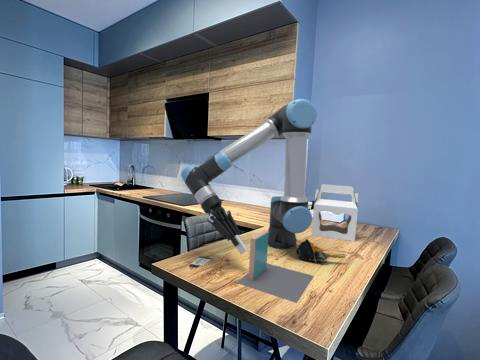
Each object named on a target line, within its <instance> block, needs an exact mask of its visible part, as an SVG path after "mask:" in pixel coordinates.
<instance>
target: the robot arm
mask: <svg viewBox="0 0 480 360" xmlns="http://www.w3.org/2000/svg"><path fill="white" fill-rule="evenodd" d="M317 116H318V115H317V109H316V106H315V105H314V104H313V103H312V102H311V101H310V100H309V99H306V98H298V99H297V98H296V99H294V100H291V101H290V102H289V103H287V104H285V105H283V106H281V108H279V109H277V111H275V112H274V113H273V114H272V115H270V116H269V117H268V118H266V119H265V122H264V123H262V124H261V125H259V126H258V127H256V128H254V129H253V130H250V131H249V132H248V133H246V134H245V135H243V136H241V137H239V138H238V139H236V140H235V141H234V142H231V144H228V145H227V146H226V147H224V148H222V149H221V150H219V151H217V152H216V153H214V154H212V155H210V156H209V157H207V158H206V159H205V161H204V162H203V163H202V164H201V165H198V166H197V165H196V164H190V165H187V166H185V168H183V169H182V171H181V172H180V176H181V179H182V180H183V182H184V184H185V186H186V187H187V189H189V191H190V192H191V194H192V195H193V197H194V198H195V200H196V201H197V203H198V204H199V205H200V208H201V209H202V210H203V212H204V214H206V215H208V218H207V219H206V220H207V222H208V223H209V224H210V225H212V226H213V228H215V229H214V230H216V231H217V232H218V233H219V235H221V236H222V238H223V239H224V240H227V241H228V242H229V241H231V243H232V244H233V246H234V247H235V248H236V249H237V251H238V253H239V254H240V256H241V255H244V254H245V253H246V252H247V251H248V250H249V249H248V247H247V246H246V245H245V243H244V241H243V240H242V239H241V237H240V235H239V234H240V229H239V227H238V225H237V223H236V221H235V219H234V218H233V215H232V212H231V210H225V208H224V207H223V206H222V203H223V201H222V200H221V198H220V197H219V196H218V194H217V193H216V192H215V191H216V190H214V189H213V187H212V186H211V184H210V182H212V181H213V180H214V179H216V178H217V177H219V176H220V175H222V174H223V173H225V172H227V171H228V169H230V168H231V167H232V165H233V163H234V162H236V161H238V160H239V159H240V158H242V157H244V156H246V155H247V154H249V153H250V152H252V151H253V150H255V149H256V148H258V147H260V146H261V145H264V144H266V142H268V141H269V140H271V139H273V138H278V137H280V136H284V138H285V150H284V151H285V152H284V153H285V154H284V155H285V158H284V183H283V184H284V186H283V187H284V188H283V192H284V193H283V196H281V195H279V196H277V195H276V196H272V197H271V200H270V208H269V209H270V212H269V227H268V230H267V231H269V235H268V247H271V248H275V249H280V250H282V249H286V250H287V249H294V248H296V247H297V242H298V240H297V235H296V234H300V233H303V232H305V231H306V230H308V229H309V228H310V226H311V225H312V223H313V216H312V215H313V214H312V212H311V211H310V209H309V199H308V198H307V197H306V174H307V173H306V172H307V171H306V170H307V149H308V148H307V147H308V138H309V137H310V136H311V134H312V127H313V125H314V124H315V122H316V120H317Z"/></svg>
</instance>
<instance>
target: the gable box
mask: <svg viewBox="0 0 480 360" xmlns="http://www.w3.org/2000/svg"><path fill="white" fill-rule="evenodd" d="M324 193H329V194H340V195H349V196H351V201H347V200H346V201H345V200H336V199H325V198H322V197H321V196H322V194H324ZM314 199H315V201H314V203H313V214H312V215H313V216H312V224H311V225H312V227H311V236H315V237H322V238H328V239H335V240H342V241H349V242H356V236H357V235H356V234H357V225H358V224H357V223H358V215H359V213H358V211H359V207H358V203H359V193H358V192H355V191H354V187H353V186H351V185H340V184H338V185H337V184H327V183H326V184H325V183H322V184H321V185H320V189H318V188H316V190H315V195H314ZM321 212H330V213H333V214H338V215H341V214H342V215H345V214H346V215H349V216H348V217H347V219H346V226H345V227H340V226H339V225H335V224H326V225H325V224H322V219H323V217H322V214H321Z"/></svg>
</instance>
